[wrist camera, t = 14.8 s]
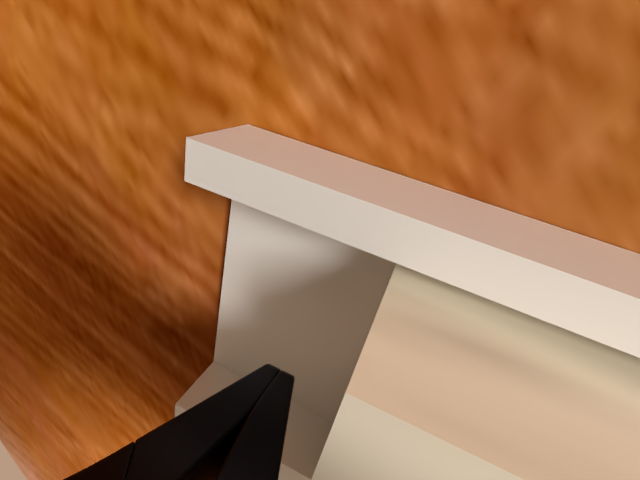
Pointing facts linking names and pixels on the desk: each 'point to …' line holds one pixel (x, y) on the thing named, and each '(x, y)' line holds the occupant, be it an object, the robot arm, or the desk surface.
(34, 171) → the desk surface
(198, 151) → the bay
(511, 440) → the pale wooden block
